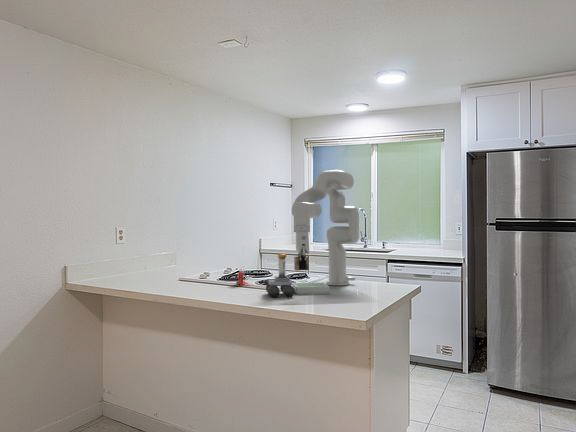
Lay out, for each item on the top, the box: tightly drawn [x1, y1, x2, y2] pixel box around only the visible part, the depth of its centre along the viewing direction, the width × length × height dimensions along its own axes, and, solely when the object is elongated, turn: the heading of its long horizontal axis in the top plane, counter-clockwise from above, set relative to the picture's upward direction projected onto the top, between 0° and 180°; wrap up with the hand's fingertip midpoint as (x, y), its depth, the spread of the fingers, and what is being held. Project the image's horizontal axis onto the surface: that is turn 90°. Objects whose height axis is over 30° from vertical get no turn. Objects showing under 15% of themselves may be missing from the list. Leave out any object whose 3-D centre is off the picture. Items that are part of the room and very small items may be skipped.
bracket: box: [235, 270, 249, 287], centre depth 246 cm, size 12×4×8 cm, turn 19°
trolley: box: [265, 275, 296, 299], centre depth 209 cm, size 12×12×8 cm
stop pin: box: [277, 253, 287, 278], centre depth 209 cm, size 4×4×12 cm
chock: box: [293, 255, 310, 271], centre depth 206 cm, size 6×4×6 cm, turn 97°
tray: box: [292, 281, 330, 295], centre depth 219 cm, size 16×13×4 cm
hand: (301, 268), depth 206 cm, fingers closed on chock, 3 cm apart
